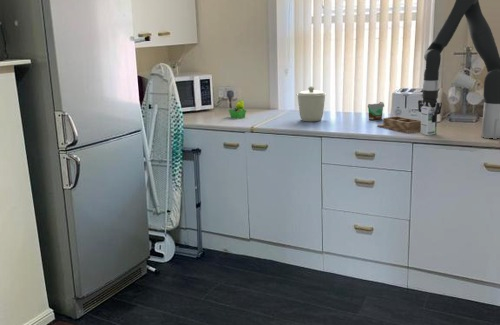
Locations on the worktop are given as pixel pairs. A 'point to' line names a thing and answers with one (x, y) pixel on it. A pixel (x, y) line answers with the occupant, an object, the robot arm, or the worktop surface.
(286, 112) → the worktop surface
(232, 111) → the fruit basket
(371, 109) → the food container
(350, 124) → the worktop surface
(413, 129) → the walnut socket rail
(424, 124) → the syrup box
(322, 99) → the canister
